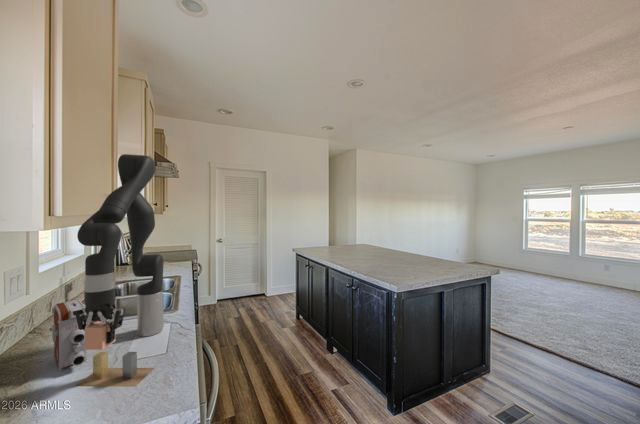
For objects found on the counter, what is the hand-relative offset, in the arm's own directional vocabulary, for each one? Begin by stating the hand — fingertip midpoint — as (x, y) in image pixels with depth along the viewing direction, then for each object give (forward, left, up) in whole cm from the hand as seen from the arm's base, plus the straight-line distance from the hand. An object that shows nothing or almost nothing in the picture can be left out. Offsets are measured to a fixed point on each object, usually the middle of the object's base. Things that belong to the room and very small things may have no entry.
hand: (100, 342), depth 84 cm
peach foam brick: (0, 0, -1) cm, 1 cm away
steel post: (0, +9, -11) cm, 14 cm away
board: (0, +5, -12) cm, 13 cm away
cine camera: (-9, -17, -12) cm, 23 cm away
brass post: (0, 0, -11) cm, 11 cm away
